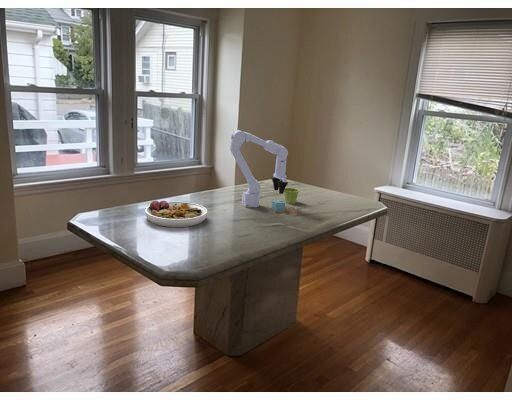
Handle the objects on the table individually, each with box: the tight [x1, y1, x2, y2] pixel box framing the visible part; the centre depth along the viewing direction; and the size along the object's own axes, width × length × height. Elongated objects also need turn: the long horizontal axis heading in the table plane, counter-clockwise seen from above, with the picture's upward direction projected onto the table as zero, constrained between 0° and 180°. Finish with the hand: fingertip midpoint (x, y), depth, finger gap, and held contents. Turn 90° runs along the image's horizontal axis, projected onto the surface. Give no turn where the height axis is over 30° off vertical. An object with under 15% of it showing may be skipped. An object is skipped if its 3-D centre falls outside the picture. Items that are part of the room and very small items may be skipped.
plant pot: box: [283, 187, 300, 205], centre depth 250 cm, size 9×9×9 cm
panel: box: [268, 206, 303, 216], centre depth 231 cm, size 15×13×1 cm
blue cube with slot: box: [271, 199, 286, 212], centre depth 231 cm, size 5×5×5 cm
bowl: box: [144, 200, 208, 228], centre depth 209 cm, size 30×30×8 cm
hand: (278, 191), depth 238 cm, fingers open, 7 cm apart
